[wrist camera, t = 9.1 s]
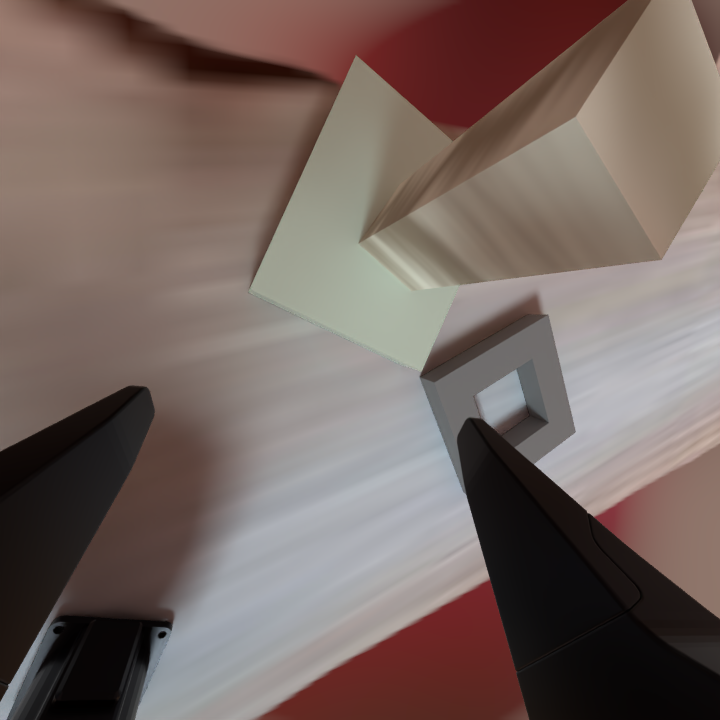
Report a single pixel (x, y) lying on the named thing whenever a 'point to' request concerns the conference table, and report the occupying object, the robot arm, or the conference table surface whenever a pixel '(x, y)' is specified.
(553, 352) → the pocket holder
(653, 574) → the robot arm
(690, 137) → the cream block
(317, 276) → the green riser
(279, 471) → the conference table surface
